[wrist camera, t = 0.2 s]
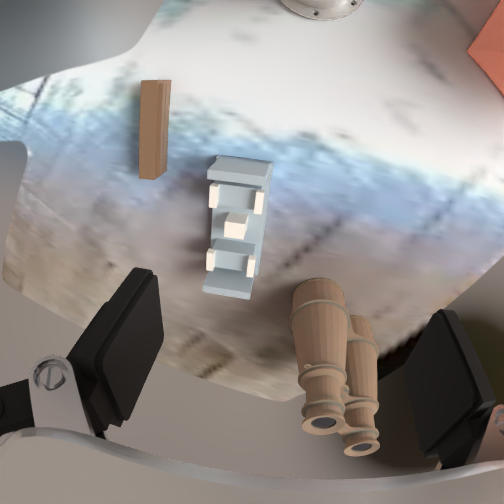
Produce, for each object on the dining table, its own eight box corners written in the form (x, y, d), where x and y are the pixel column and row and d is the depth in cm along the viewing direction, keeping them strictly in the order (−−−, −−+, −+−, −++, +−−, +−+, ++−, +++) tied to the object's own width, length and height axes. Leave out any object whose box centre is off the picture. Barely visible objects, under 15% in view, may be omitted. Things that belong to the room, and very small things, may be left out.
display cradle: (218, 154, 43) (203, 169, 37) (273, 161, 43) (269, 177, 36) (211, 262, 53) (199, 291, 46) (258, 270, 52) (252, 300, 45)
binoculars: (278, 295, 54) (265, 421, 33) (325, 265, 50) (339, 394, 29) (339, 356, 61) (347, 466, 39) (381, 335, 57) (404, 446, 35)
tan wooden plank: (156, 80, 39) (141, 80, 34) (175, 80, 39) (161, 80, 34) (153, 169, 46) (139, 178, 41) (170, 170, 46) (158, 180, 41)
